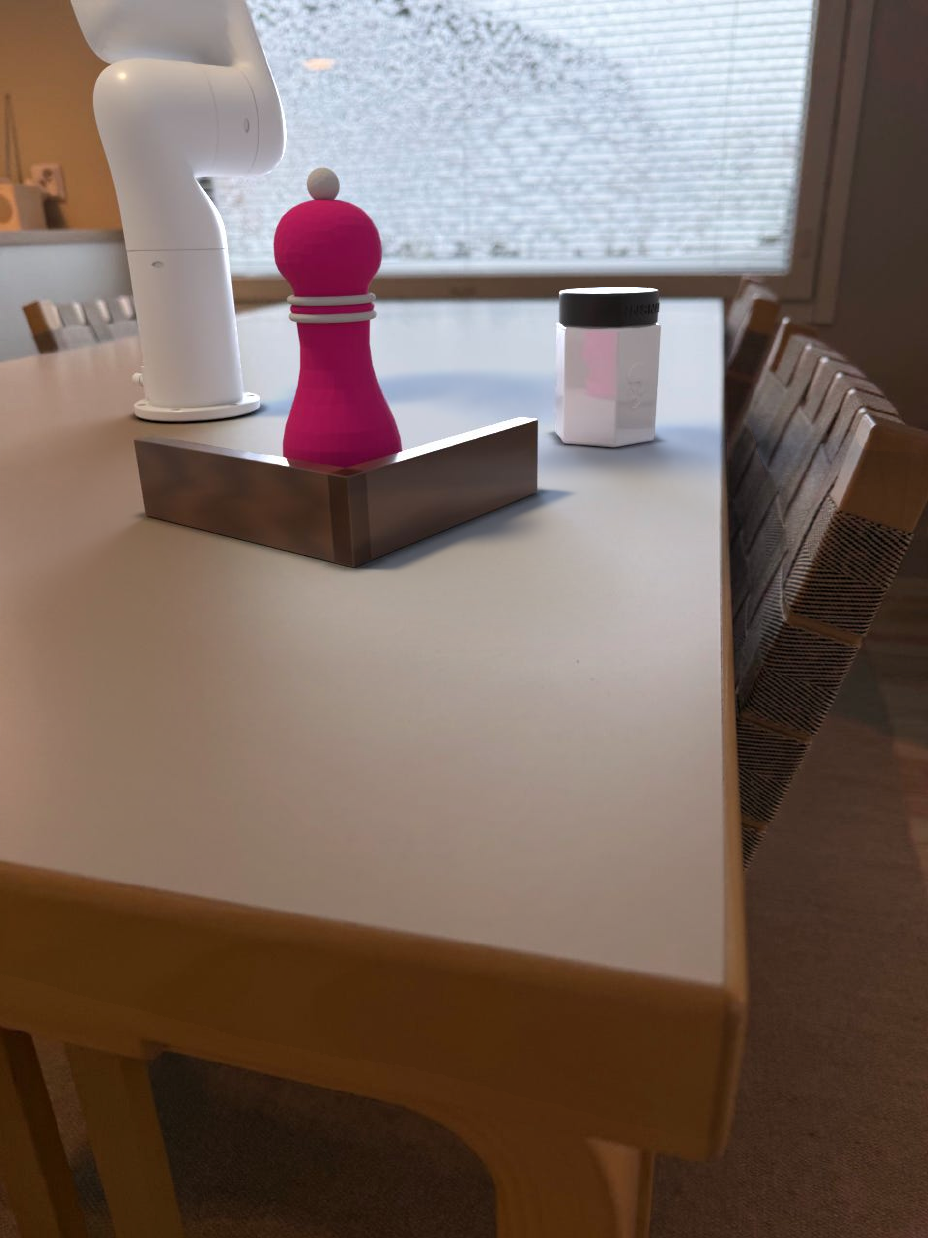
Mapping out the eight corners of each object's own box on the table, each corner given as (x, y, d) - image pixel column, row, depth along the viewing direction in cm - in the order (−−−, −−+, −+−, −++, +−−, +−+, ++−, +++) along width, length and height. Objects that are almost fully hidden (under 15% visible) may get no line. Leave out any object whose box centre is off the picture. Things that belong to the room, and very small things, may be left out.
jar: (595, 452, 74) (600, 294, 70) (533, 436, 81) (535, 291, 76) (675, 437, 79) (685, 289, 74) (611, 423, 85) (616, 286, 81)
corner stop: (145, 515, 60) (132, 439, 58) (341, 460, 74) (337, 396, 72) (353, 567, 50) (347, 476, 48) (537, 492, 63) (538, 419, 62)
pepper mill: (426, 513, 59) (412, 167, 51) (368, 546, 53) (343, 159, 45) (330, 502, 62) (304, 173, 54) (266, 532, 56) (225, 167, 48)
